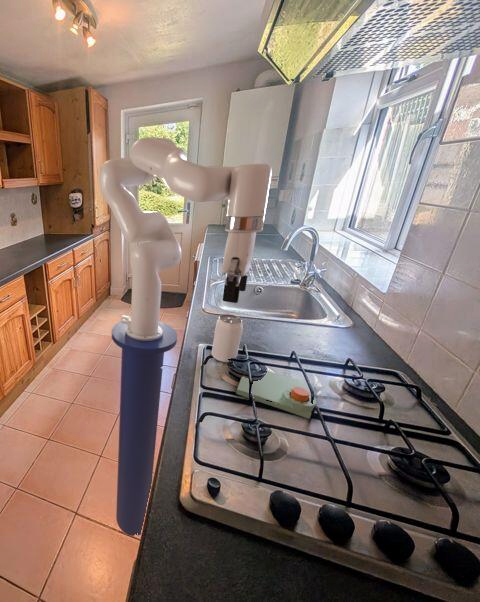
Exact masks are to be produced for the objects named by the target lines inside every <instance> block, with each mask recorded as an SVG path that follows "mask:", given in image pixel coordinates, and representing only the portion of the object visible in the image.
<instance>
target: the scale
mask: <svg viewBox="0 0 480 602" xmlns="http://www.w3.org/2000/svg"><path fill="white" fill-rule="evenodd" d="M266 371H267V373H266V375H265V376H264V377H263V378H262V379H261V380H258V381H253V384H252V394H253V395H254V399H255V400H254V401H255V402H259V403H262V404H264V405H267V406H271V407H273V408H275V409H276V408H277V409H279V410H281V411H285V412H288V413H291V414H294V415H297V416H299V417H303V418H305V419H308V420H310V419H311V416H312V412H313V411H314V410H313V408H314V407H315V408H316V406H317V399H316V397H314V400H313V404H312V403H311V394H310V390H309V388H308V385H307V383H306V382H307V381H304V380H301V379H297V378H293V377H290V376H287V375H283V374H279V373H276V372H272V371H269V370H266ZM311 385H312V386H313V383H311ZM293 387H301V388H304V389H306V390H307V391H308V392H309V397H308V400H307V402H300V401H297V400H295V399H293V398H292V397H291V392H292V389H293ZM235 394H236V395H238V396H241V397H245V398H247V399H250V398H249V379H248V378H245V377H242V376H241V378H240V380H239V382H238V385H237V389H236V392H235ZM266 400H269V401H272V402H273V403H272V402H269V401H266ZM275 403H276V404H275ZM312 410H313V411H312Z"/></svg>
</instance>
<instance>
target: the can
mask: <svg viewBox="0 0 480 602" xmlns="http://www.w3.org/2000/svg"><path fill="white" fill-rule="evenodd" d="M243 327H244V325H243V319H242V318H241V317H240V316H238V315H234V314H229V313H225V314H224V313H223V314H220V315H219V316H218V319H217V321H216V324H215V328H214V334H213V336H214V337H213V341H212V346H211V347H212V348H211V356H212V358H214V360H216V361H218V362H221V363H226V364H229V362H228V361H229V360H228V359H231V358H236V357H237V358H238V354H239V348H240V344H241V339H242V335H243ZM237 358H236V359H237Z"/></svg>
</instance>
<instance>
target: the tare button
mask: <svg viewBox="0 0 480 602" xmlns="http://www.w3.org/2000/svg"><path fill="white" fill-rule="evenodd" d="M291 397H292V398H293V399H295V400H297V401H300V402H307V400H308V397H309V392H308V391H307V390H306V389H304V388H301V387H293V389H292V392H291Z"/></svg>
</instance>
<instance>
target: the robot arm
mask: <svg viewBox="0 0 480 602" xmlns="http://www.w3.org/2000/svg"><path fill="white" fill-rule="evenodd" d="M129 152H130V153H129V157H115V158H110V159H108V160H106V161H105V162H103V164H102V165H101V167H100V169H99V173H98V185H99V190H100V193H101V195H102V197H103V198H104V200H105V202H106V203H107V205H108V206H109V208H110V210H111V211H112V214H113V216H114V219H115V220H116V222H117V225H118V227H119V229H120V231H121V234H122V235H123V237H124V239H125V240H126V242H128V243H130V244H137V245H136V246H134V247H133V249H132V250H131V252H130V254H129V255H130V256H129V262H130V269H131V279H132V280H131V303H130V304H131V305H130V306H131V307H130V316H127V315H124V314H122V315H121V317H120V318H121V319H120V322H121V323H124V324H127V325H128V326H127V327H126V333H127V335H128V336H130V337H131V338H133V339H136V340H141V341H152V340H156V339H159V338H160V337H161V336H162V333H163V331H162V329H161V328H160V327H159V326H158V325H159V321H160V312H161V301H162V280H161V278H160V276H159V272H160V271H162V270H166V269H171V268H174V267H176V266H177V265H178V264H179V263H180V261H182V248H181V245H180V243H179V241H178V239H177V237H176V234H175V233H174V231H173V229H172V227H171V224H170V223H169V221H168V219H167V217H166V216H164V214H163V213H161V212H159V211H155V210H154V211H153V210H152V211H144V210H142V209H141V206H140V204H139V203H138V200H137V199H136V197H135V195H133V194H132V193H131V192H130V191H129V190H127V189H126V188H125V187H139V186H144V185H146V184H148V183H149V182H151V181H153V180H154V179H156V178H159V179H160V180H163V182H164V184H165V185H166V188H168V189H169V190H170V191H171V192H173V193H174V194H176V195H178V196H181V197H182V198H185V199H186V200H188V201H189V200H190V201H192V202H195V203H203V202H204V203H205V202H218V201H219V202H220V201H227V200H228V202H227V211H226V219H225V228H224V231H225V232H228V234H227V237H226V242H225V247H224V254H223V260H222V266H221V273H220V274H222V275H226V277H225V282H224V286H223V294H222V301H223V302H227V303H232V304H238V302H239V297H240V292H245V291H246V289H247V282H248V273H249V270H250V269H251V265H252V261H253V256H254V251H255V244H256V236H257V233H261V232H263V230H264V224H265V217H266V216H265V215H266V211H267V205H268V199H269V192H270V185H271V180H272V174H273V173H272V172H273V170H272V166H271V165H270V164H268V163H249V164H248V163H247V164H241V165H238V166H217V165H216V166H213V165H212V166H204V165H199V164H197V163H194V162H192V161H189V160H188V155H187V151H185V149H183V148H181V147H178V146H177V144H176V143H175V142H174V141H173V140H172V139H170V138H166V137H154V136H146V137H145V136H144V137H142V138H139V139H137V140H136V141H135V142H134V143H133V144H132V145H131V147H130V151H129ZM139 243H140V244H139Z"/></svg>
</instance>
